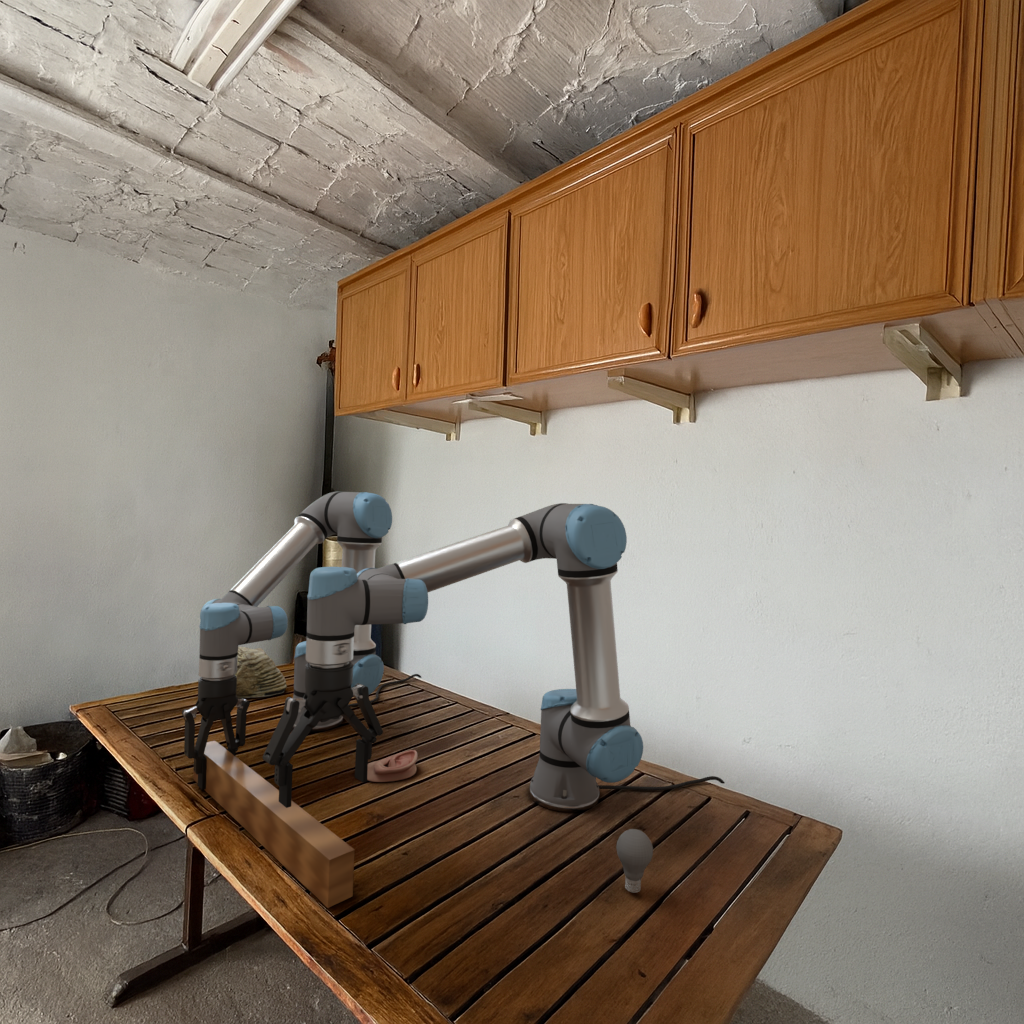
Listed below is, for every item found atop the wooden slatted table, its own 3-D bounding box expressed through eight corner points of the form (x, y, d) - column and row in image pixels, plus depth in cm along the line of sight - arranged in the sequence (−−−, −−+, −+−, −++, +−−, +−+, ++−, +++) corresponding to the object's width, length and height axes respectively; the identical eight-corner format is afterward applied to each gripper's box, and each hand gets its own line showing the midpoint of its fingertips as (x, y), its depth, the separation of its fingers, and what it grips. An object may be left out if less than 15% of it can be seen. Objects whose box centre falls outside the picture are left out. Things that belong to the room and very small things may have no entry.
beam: (193, 779, 139) (194, 745, 139) (213, 773, 142) (215, 740, 142) (327, 908, 98) (329, 859, 98) (352, 896, 101) (354, 849, 101)
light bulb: (610, 879, 108) (613, 822, 108) (644, 879, 109) (647, 822, 109) (619, 902, 102) (622, 840, 102) (655, 901, 103) (658, 840, 103)
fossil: (218, 695, 195) (220, 647, 195) (278, 685, 208) (279, 640, 207) (228, 703, 189) (230, 653, 188) (289, 692, 201) (290, 645, 201)
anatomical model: (349, 761, 142) (371, 742, 154) (348, 778, 142) (370, 758, 154) (405, 768, 140) (423, 749, 151) (404, 786, 140) (422, 765, 151)
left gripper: (180, 687, 127) (176, 802, 128) (265, 673, 140) (261, 778, 140) (167, 679, 132) (164, 789, 133) (251, 666, 145) (247, 767, 145)
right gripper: (264, 680, 92) (259, 825, 92) (406, 656, 110) (401, 777, 110) (243, 669, 97) (238, 806, 97) (381, 647, 115) (376, 763, 115)
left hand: (214, 783), depth 136 cm, fingers closed on beam, 4 cm apart
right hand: (324, 791), depth 104 cm, fingers open, 13 cm apart
